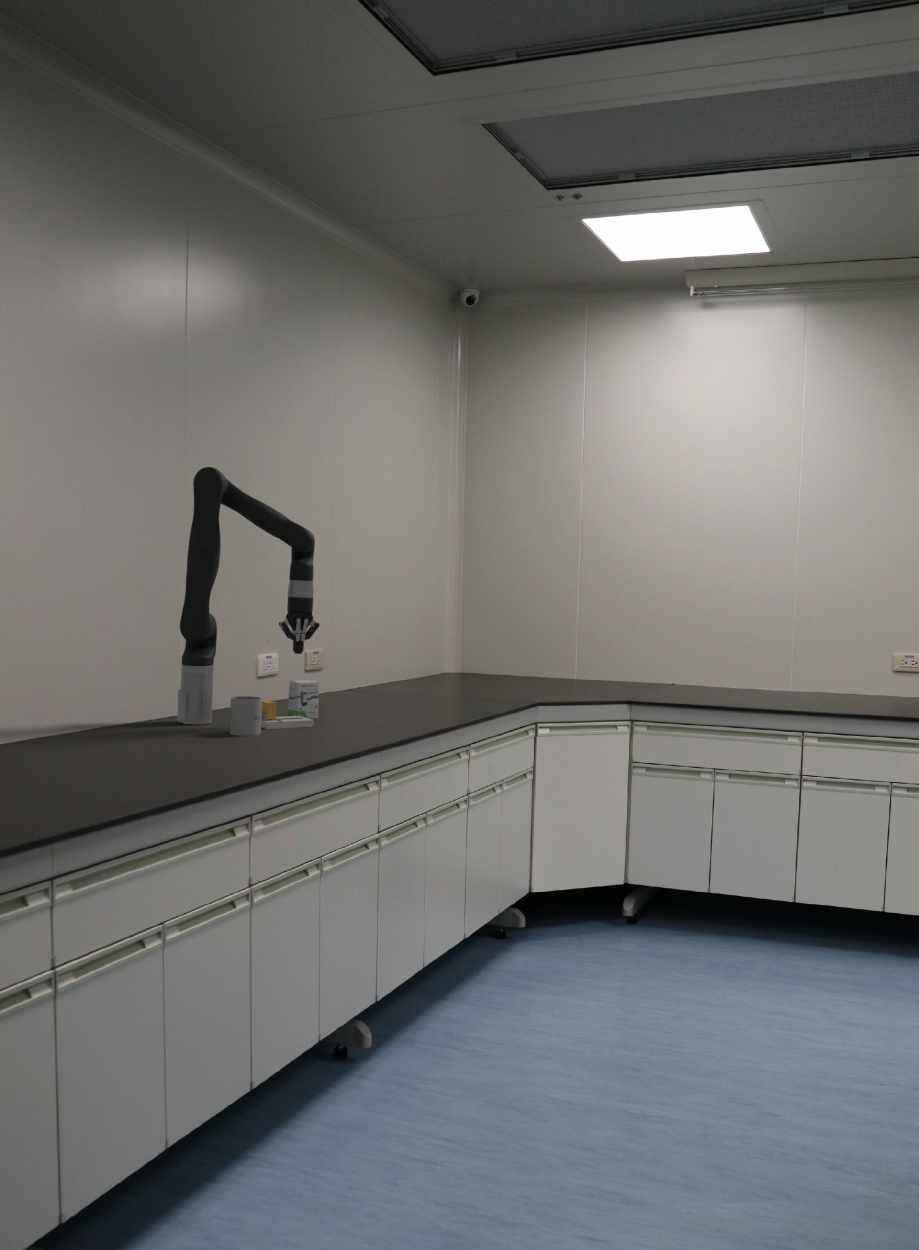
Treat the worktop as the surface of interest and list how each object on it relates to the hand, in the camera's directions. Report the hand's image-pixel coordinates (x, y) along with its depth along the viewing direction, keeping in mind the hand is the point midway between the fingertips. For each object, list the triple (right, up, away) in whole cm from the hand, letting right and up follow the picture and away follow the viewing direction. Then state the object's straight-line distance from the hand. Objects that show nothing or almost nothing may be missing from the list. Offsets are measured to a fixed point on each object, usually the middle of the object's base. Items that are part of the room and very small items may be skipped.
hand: (298, 653), depth 313 cm
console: (-4, -21, -1) cm, 22 cm away
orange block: (-8, -19, -4) cm, 21 cm away
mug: (-11, -22, -17) cm, 30 cm away
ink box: (-1, -21, +17) cm, 27 cm away
